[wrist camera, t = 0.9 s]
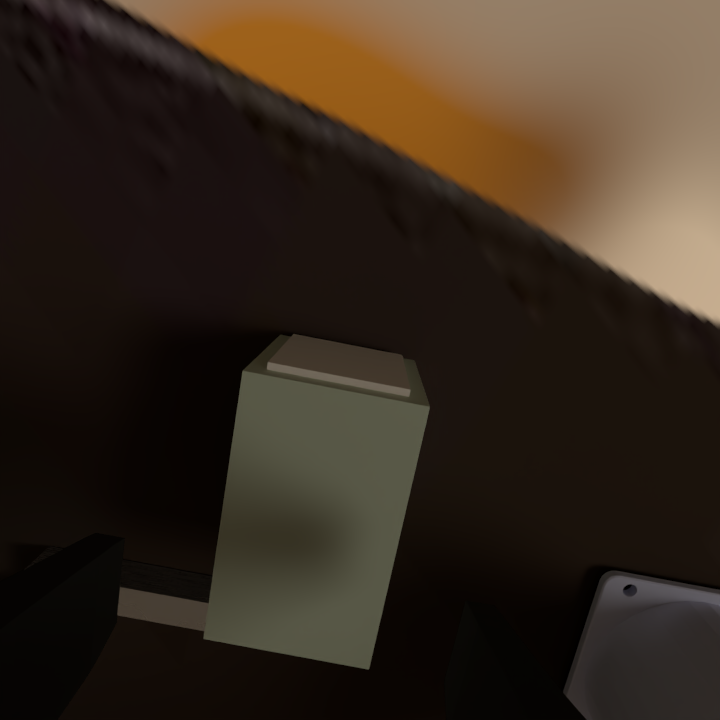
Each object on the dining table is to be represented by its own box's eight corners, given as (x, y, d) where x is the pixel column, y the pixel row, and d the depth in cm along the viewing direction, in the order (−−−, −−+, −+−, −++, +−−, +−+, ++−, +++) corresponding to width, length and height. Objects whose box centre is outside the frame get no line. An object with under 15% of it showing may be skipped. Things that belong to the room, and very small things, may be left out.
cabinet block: (415, 354, 19) (431, 399, 13) (370, 557, 20) (369, 669, 15) (282, 328, 18) (243, 363, 13) (248, 534, 20) (203, 638, 15)
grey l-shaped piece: (263, 585, 21) (244, 642, 18) (228, 797, 23) (207, 878, 20) (49, 546, 20) (-6, 596, 18) (35, 762, 23) (-15, 839, 20)
